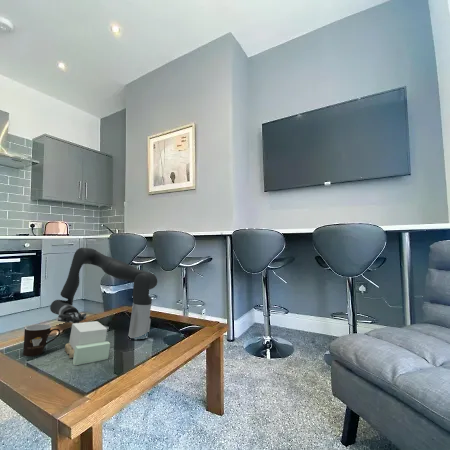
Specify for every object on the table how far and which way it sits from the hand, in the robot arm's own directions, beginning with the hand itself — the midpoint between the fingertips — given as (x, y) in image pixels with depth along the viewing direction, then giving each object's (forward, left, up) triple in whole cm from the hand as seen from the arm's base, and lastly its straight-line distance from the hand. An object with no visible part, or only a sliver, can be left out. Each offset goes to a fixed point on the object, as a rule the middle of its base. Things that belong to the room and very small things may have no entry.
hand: (77, 321), depth 116 cm
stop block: (0, +26, -8) cm, 27 cm away
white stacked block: (0, +18, -6) cm, 19 cm away
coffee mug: (+15, +9, -9) cm, 19 cm away
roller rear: (0, +12, -6) cm, 13 cm away
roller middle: (0, +14, -6) cm, 15 cm away
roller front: (0, +18, -6) cm, 19 cm away
